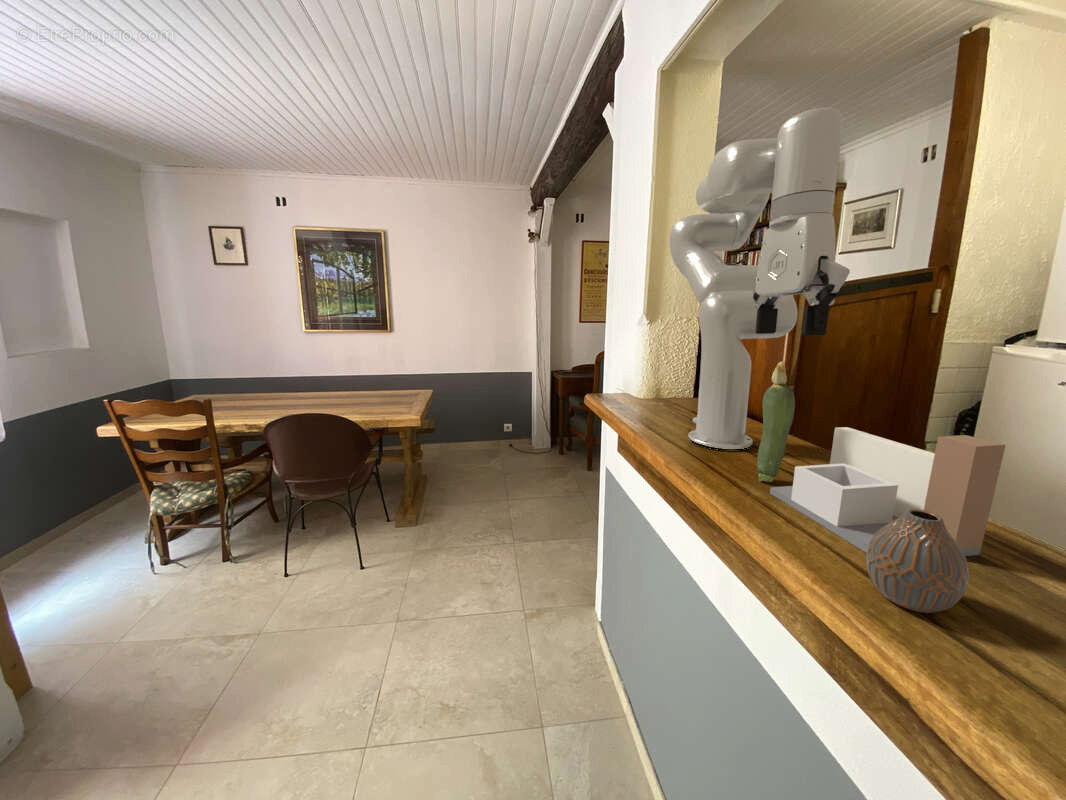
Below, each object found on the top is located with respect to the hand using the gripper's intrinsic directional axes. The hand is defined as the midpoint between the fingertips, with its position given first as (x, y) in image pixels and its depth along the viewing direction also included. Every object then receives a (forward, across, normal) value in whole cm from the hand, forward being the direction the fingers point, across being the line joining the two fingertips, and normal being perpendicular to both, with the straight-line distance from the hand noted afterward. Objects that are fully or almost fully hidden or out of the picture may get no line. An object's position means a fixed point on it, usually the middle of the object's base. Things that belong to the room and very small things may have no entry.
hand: (787, 334), depth 60 cm
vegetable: (+24, -1, 0) cm, 24 cm away
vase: (+24, +26, -6) cm, 36 cm away
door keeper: (+24, +12, +3) cm, 27 cm away
